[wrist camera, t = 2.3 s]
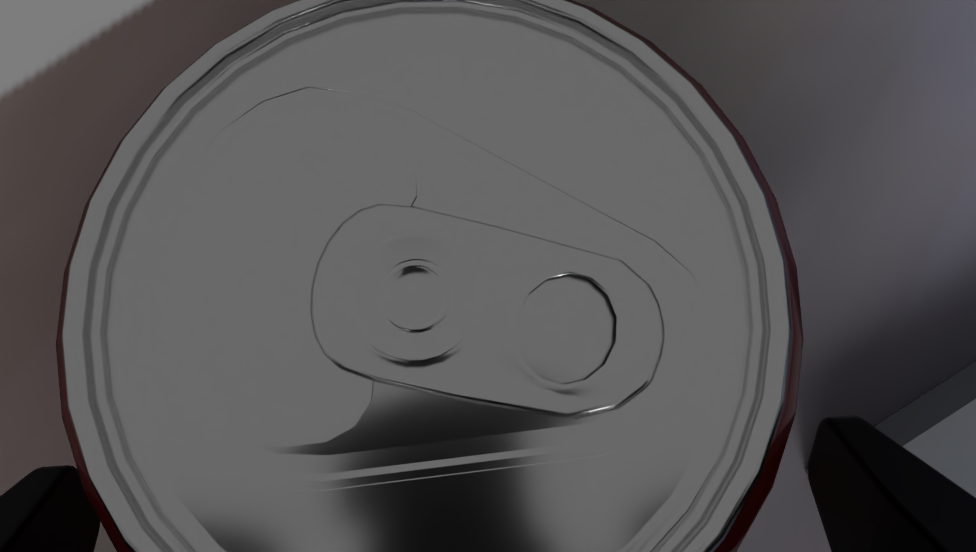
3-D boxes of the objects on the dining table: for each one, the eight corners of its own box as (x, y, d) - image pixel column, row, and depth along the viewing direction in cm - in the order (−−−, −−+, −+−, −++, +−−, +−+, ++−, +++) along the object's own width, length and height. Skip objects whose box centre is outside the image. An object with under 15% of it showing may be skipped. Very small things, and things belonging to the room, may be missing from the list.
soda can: (279, 485, 18) (-124, 588, 6) (373, 208, 19) (192, -138, 8) (569, 575, 17) (733, 875, 6) (644, 286, 19) (898, 46, 7)
